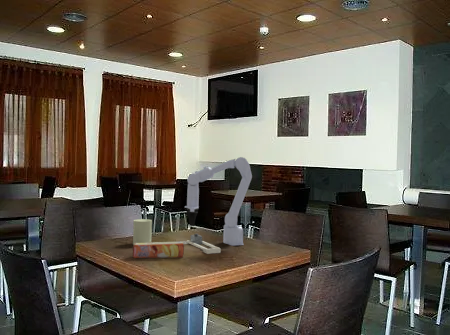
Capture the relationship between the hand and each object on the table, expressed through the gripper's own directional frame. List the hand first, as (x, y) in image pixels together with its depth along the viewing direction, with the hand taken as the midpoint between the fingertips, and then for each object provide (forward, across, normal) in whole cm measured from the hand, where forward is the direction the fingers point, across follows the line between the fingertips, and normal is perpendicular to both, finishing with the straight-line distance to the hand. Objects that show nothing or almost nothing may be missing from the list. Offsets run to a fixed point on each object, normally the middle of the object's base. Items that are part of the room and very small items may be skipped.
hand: (192, 224), depth 214 cm
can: (+10, +2, -24) cm, 26 cm away
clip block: (+9, +4, +2) cm, 10 cm away
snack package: (+10, +32, -13) cm, 36 cm away
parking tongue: (+10, +4, -5) cm, 11 cm away
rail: (+10, +12, +6) cm, 16 cm away
